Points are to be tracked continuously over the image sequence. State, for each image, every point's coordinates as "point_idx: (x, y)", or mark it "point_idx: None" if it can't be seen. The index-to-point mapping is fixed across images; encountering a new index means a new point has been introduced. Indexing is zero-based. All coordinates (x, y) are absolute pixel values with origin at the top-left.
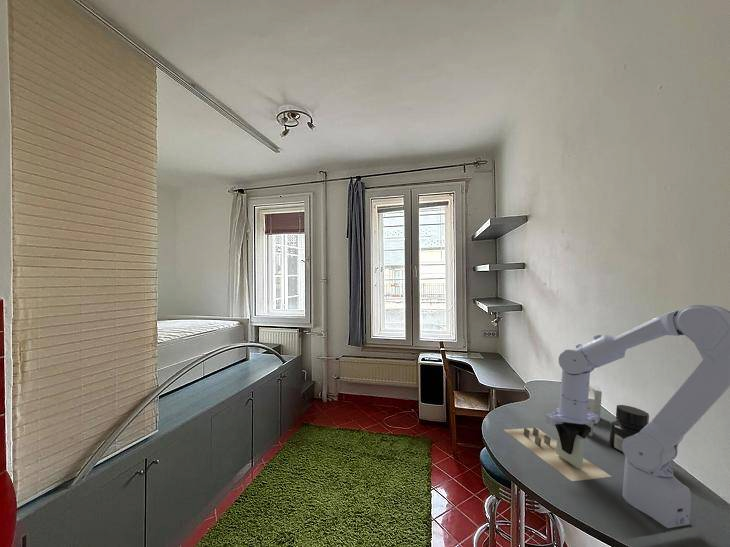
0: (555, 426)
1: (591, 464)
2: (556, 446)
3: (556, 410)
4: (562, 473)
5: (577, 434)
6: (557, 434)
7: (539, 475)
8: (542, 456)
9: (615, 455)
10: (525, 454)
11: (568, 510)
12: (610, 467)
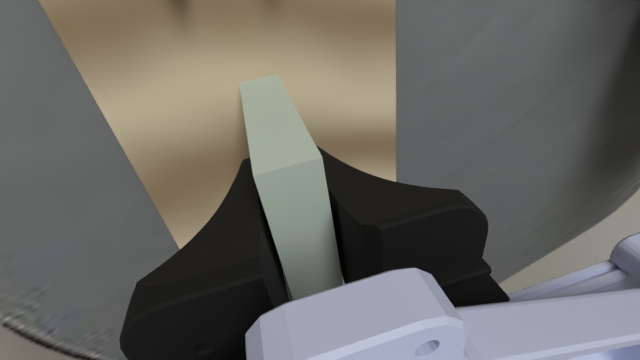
0: (173, 257)
1: (387, 139)
2: (241, 97)
3: (248, 343)
4: (174, 230)
5: (347, 275)
6: (247, 136)
7: (56, 221)
8: (127, 103)
9: (620, 4)
10: (19, 33)
11: (104, 348)
12: (478, 111)
